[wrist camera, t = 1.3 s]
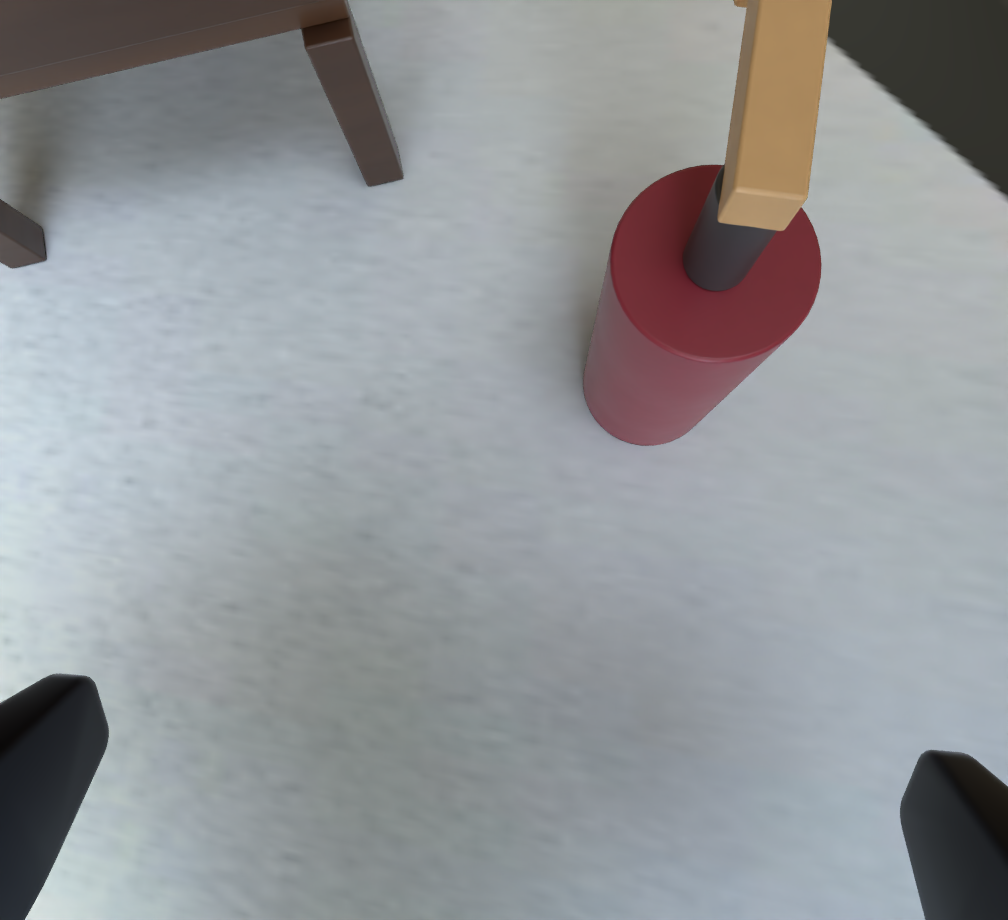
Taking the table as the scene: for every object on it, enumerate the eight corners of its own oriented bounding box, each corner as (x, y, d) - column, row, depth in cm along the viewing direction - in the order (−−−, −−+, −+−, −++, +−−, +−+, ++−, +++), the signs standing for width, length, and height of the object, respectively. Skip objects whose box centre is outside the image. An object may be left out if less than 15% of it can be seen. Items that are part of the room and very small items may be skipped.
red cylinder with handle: (701, 455, 22) (907, 307, 10) (573, 435, 22) (614, 266, 10) (732, 230, 23) (956, -167, 11) (609, 213, 23) (686, -193, 11)
